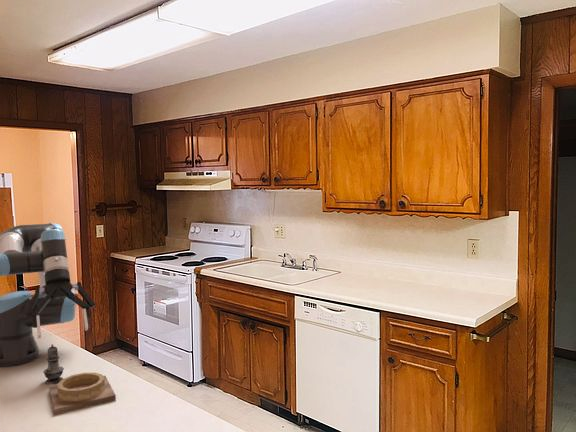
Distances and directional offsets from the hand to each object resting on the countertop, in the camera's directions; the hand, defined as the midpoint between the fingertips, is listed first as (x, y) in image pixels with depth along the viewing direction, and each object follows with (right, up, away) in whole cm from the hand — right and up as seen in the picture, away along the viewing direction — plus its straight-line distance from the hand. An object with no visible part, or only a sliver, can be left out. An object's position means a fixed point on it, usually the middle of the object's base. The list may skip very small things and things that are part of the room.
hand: (63, 333), depth 152 cm
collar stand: (+10, -16, -10) cm, 22 cm away
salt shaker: (-3, -15, 0) cm, 16 cm away
